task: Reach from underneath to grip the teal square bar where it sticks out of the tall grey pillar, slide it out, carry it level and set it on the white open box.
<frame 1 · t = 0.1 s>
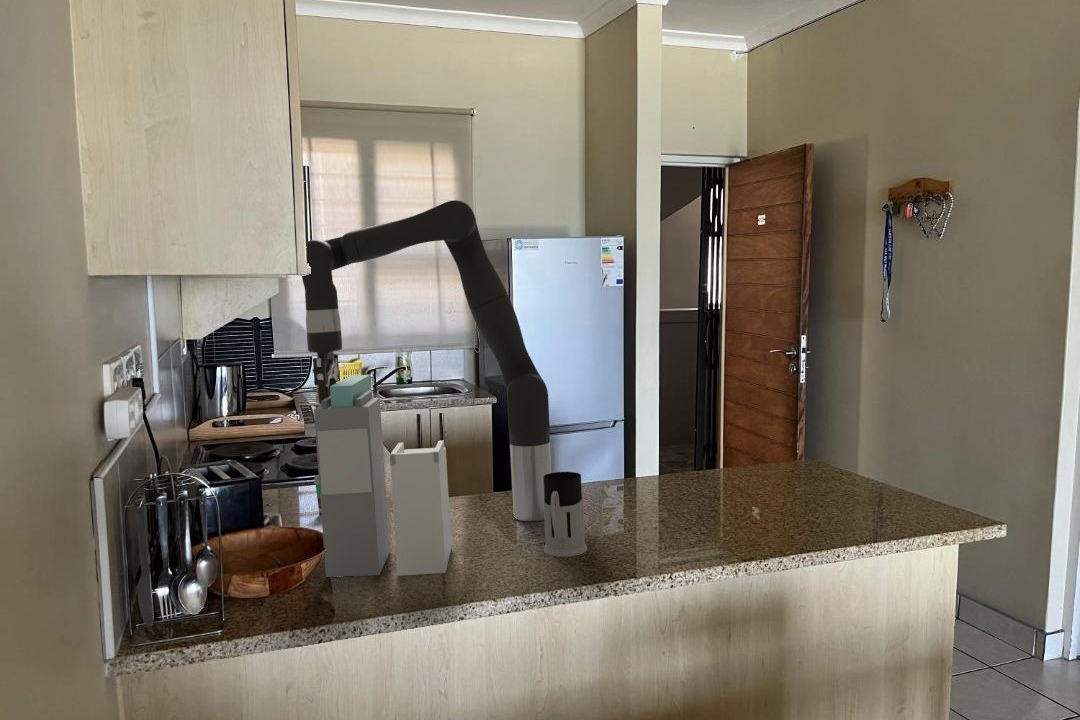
hand: (329, 401, 183), 29 cm above the counter, tool pointing down, fingers open, 8 cm apart
food container: (339, 510, 201), on the counter
tall grey pillar: (359, 565, 159), on the counter
white open box: (425, 561, 159), on the counter
teal square bar: (352, 400, 160), point 32 cm above the counter, touching tall grey pillar
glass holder: (562, 554, 159), on the counter
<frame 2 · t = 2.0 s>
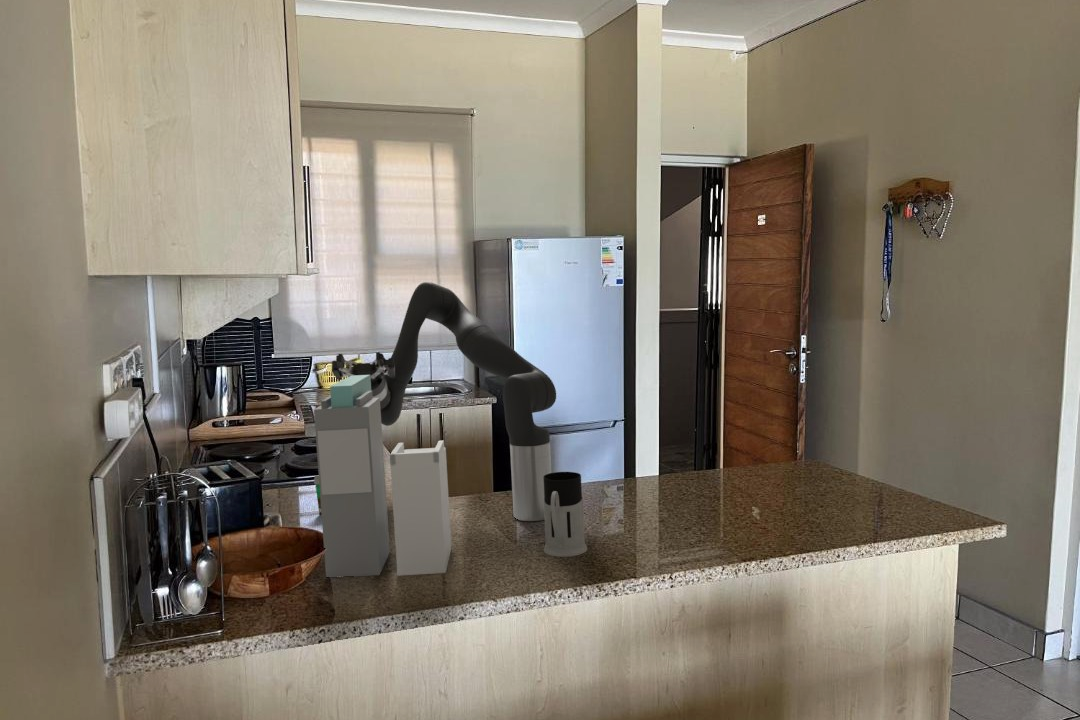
hand: (358, 356, 184), 39 cm above the counter, tool pointing upward, fingers open, 8 cm apart
nothing on the counter moved.
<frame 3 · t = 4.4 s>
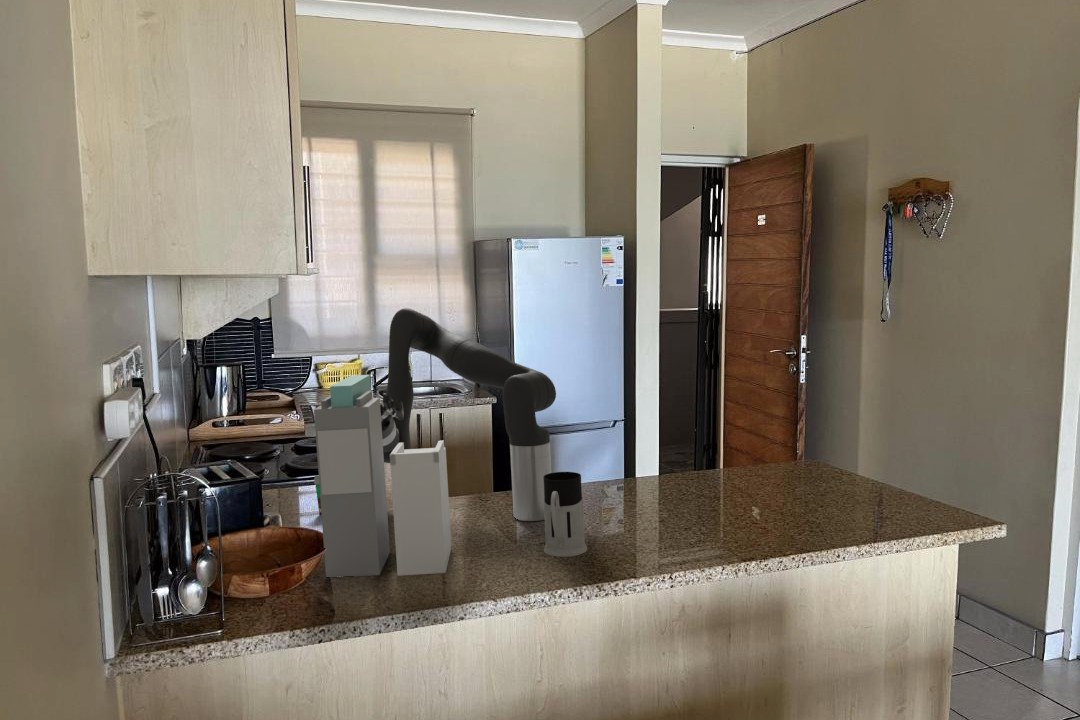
hand: (364, 398, 173), 31 cm above the counter, tool pointing upward, fingers open, 8 cm apart
nothing on the counter moved.
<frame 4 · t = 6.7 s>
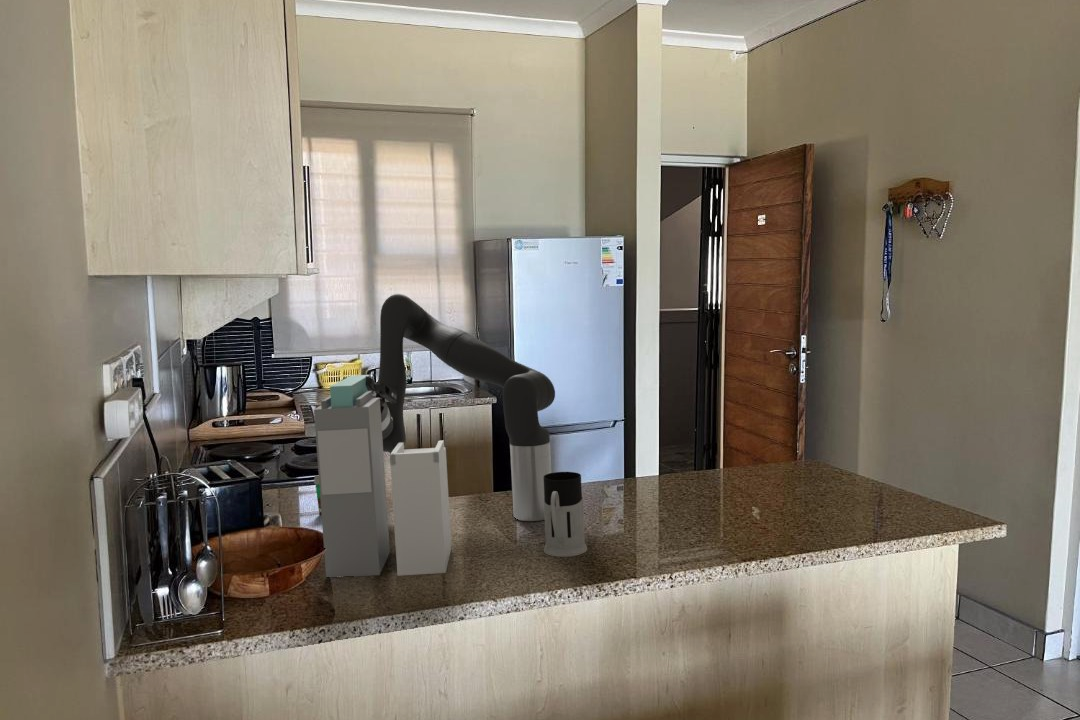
hand: (356, 380, 165), 35 cm above the counter, tool pointing upward, fingers closed on teal square bar, 4 cm apart
teal square bar: (352, 400, 160), point 32 cm above the counter, touching gripper, tall grey pillar
everything else where it was.
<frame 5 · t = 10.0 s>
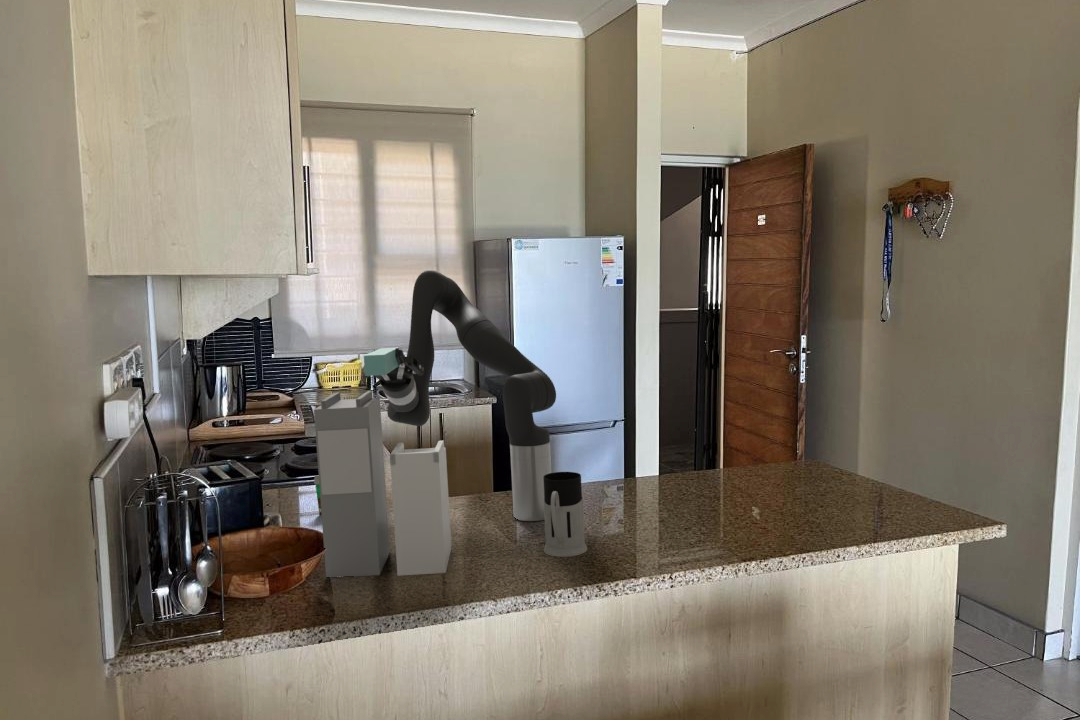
hand: (386, 352, 172), 40 cm above the counter, tool pointing upward, fingers closed on teal square bar, 4 cm apart
teal square bar: (383, 370, 168), point 37 cm above the counter, touching gripper
everything else where it was.
when the fingers open (27 cm above the counter, at t = 13.6 s): teal square bar drops 3 cm, resting on white open box.
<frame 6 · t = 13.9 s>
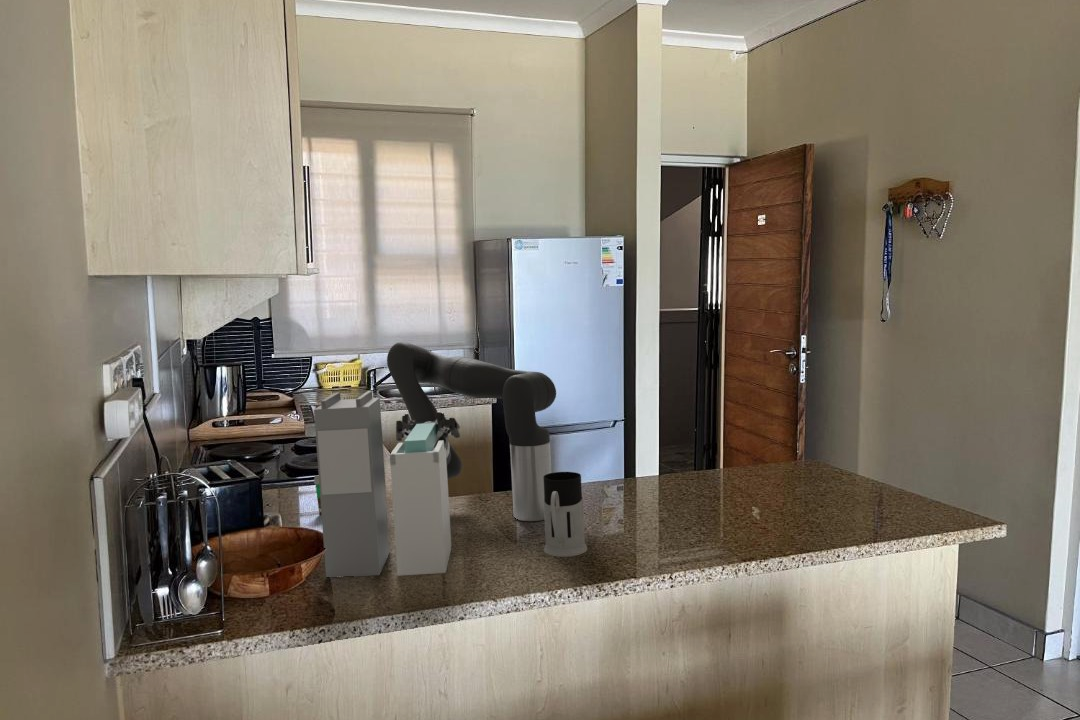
hand: (422, 416, 166), 27 cm above the counter, tool pointing upward, fingers open, 6 cm apart
teal square bar: (422, 451, 162), point 21 cm above the counter, touching white open box
everything else where it was.
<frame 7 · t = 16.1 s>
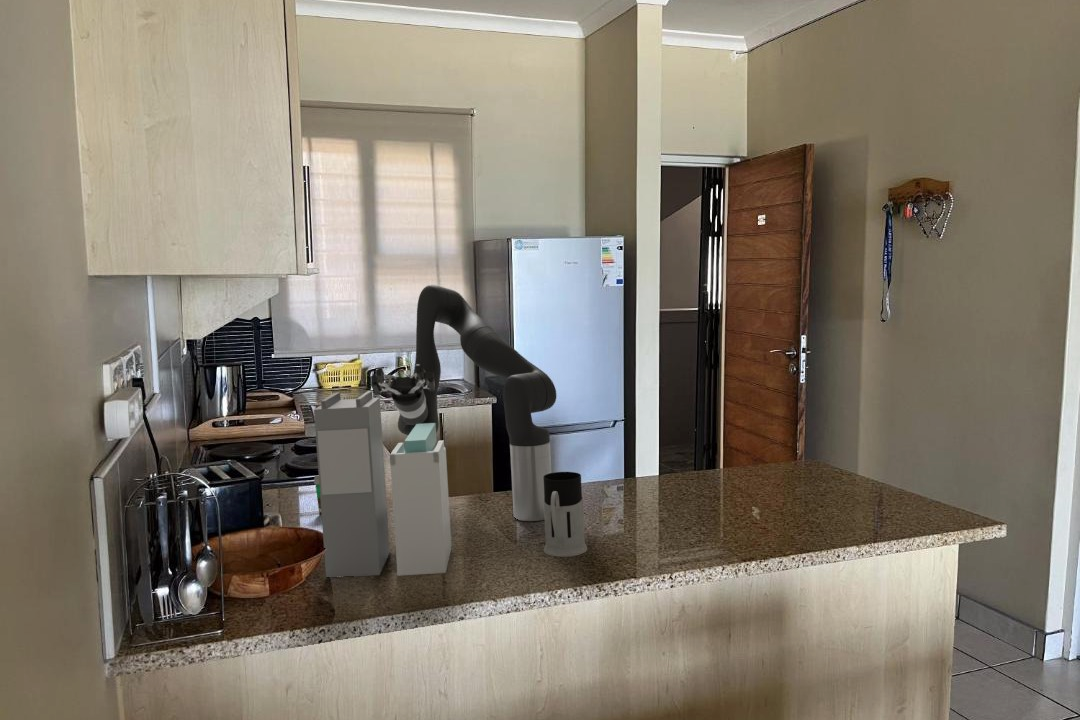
hand: (398, 369, 181), 36 cm above the counter, tool pointing upward, fingers open, 8 cm apart
nothing on the counter moved.
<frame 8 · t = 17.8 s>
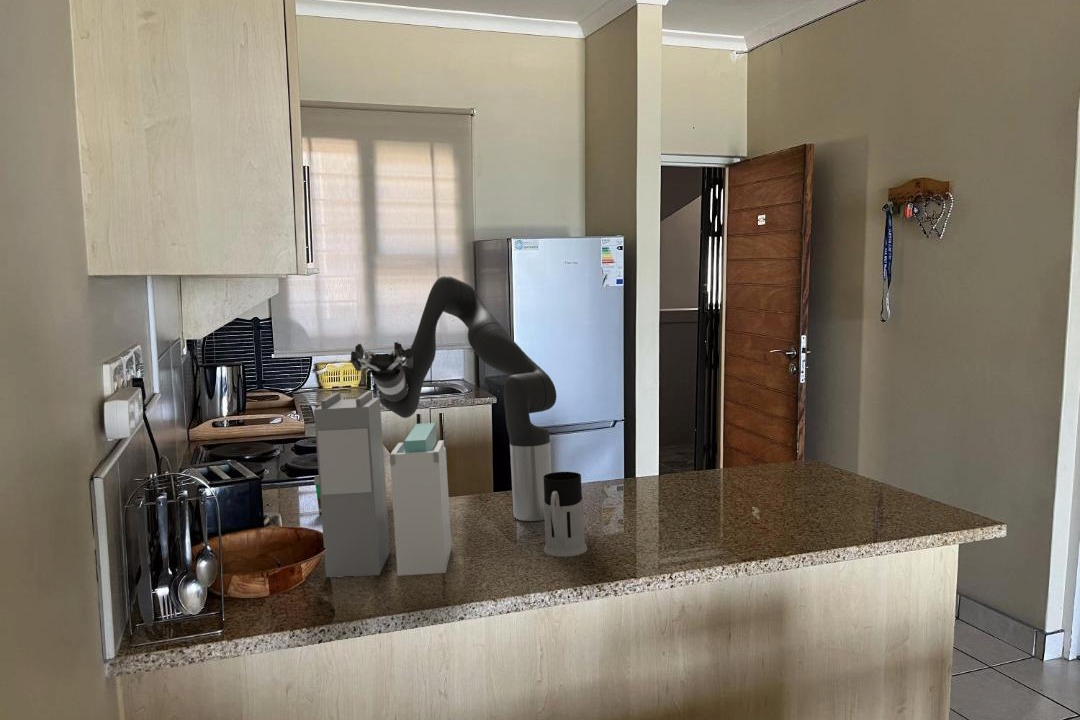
hand: (377, 346, 187), 41 cm above the counter, tool pointing upward, fingers open, 8 cm apart
nothing on the counter moved.
at the end: teal square bar inside the target area on the white open box (0.7 cm from its centre), point 21.0 cm above the white open box's base; teal square bar tilted 0°; the gripper is holding nothing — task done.
